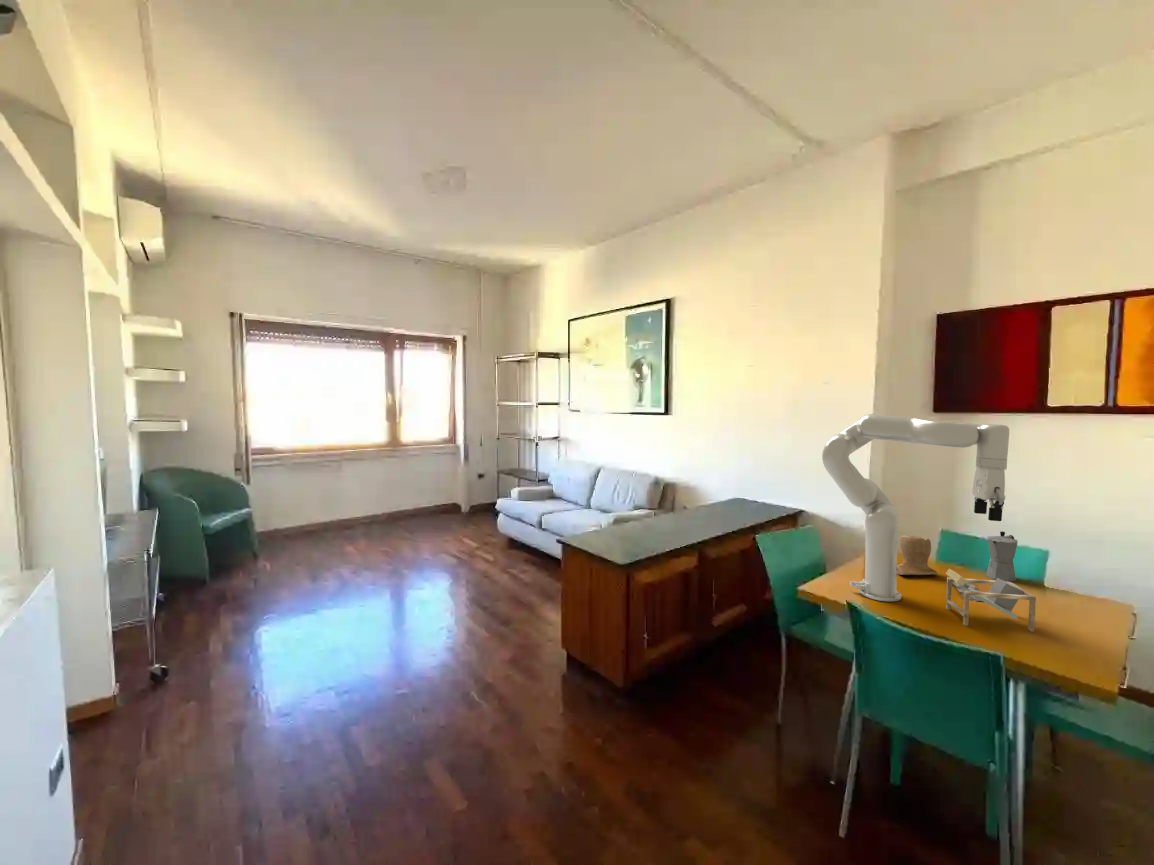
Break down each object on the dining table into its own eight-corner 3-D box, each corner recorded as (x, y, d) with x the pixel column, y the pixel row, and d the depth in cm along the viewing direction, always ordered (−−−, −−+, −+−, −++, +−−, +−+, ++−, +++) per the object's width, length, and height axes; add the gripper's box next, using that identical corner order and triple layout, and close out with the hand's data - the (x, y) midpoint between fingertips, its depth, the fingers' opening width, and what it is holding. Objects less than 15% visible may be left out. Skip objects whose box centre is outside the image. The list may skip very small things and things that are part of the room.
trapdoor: (955, 586, 154) (962, 578, 153) (942, 575, 163) (947, 567, 163) (1016, 619, 150) (1022, 611, 149) (998, 606, 160) (1004, 598, 159)
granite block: (993, 602, 154) (1006, 583, 152) (985, 596, 158) (997, 577, 157) (1011, 610, 152) (1023, 591, 151) (1002, 604, 157) (1014, 585, 156)
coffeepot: (1007, 584, 185) (1009, 536, 184) (977, 577, 193) (979, 531, 192) (1026, 577, 192) (1028, 531, 191) (997, 570, 200) (998, 525, 199)
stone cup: (921, 568, 204) (922, 531, 203) (942, 578, 193) (943, 540, 192) (884, 568, 205) (885, 532, 204) (902, 578, 193) (903, 540, 192)
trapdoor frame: (964, 625, 153) (965, 591, 152) (945, 608, 165) (946, 577, 164) (1034, 631, 148) (1035, 597, 147) (1009, 613, 160) (1011, 581, 160)
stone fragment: (964, 603, 171) (999, 606, 168) (964, 595, 171) (999, 597, 168) (933, 577, 195) (963, 579, 193) (933, 570, 195) (963, 571, 193)
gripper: (965, 459, 167) (961, 510, 168) (990, 466, 150) (985, 522, 151) (992, 460, 164) (988, 511, 166) (1020, 468, 148) (1016, 524, 149)
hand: (987, 516), depth 159 cm, fingers open, 9 cm apart
